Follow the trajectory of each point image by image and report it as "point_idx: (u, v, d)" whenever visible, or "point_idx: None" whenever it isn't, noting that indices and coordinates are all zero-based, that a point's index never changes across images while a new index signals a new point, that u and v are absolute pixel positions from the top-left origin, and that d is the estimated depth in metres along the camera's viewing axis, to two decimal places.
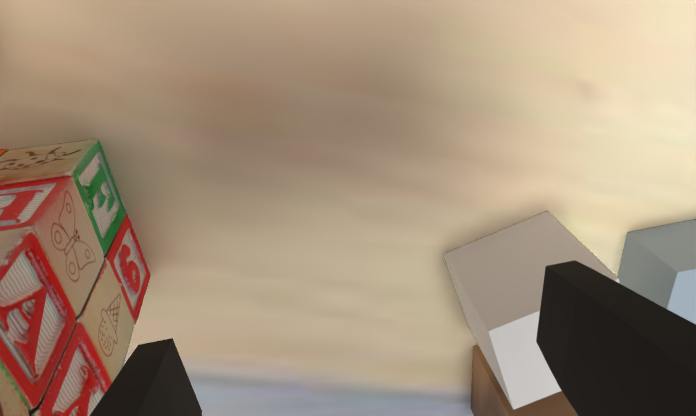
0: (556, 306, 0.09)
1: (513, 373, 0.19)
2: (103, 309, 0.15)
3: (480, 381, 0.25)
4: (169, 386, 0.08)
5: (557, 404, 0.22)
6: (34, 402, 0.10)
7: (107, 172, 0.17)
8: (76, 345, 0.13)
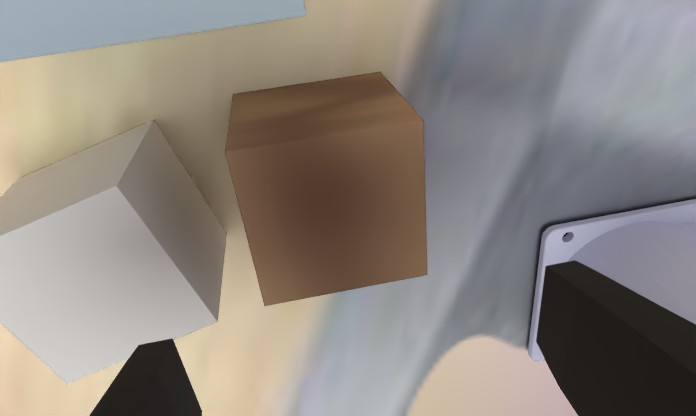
0: (556, 306, 0.09)
1: (141, 340, 0.14)
2: None
3: None
4: (169, 386, 0.08)
5: None
6: None
7: None
8: None
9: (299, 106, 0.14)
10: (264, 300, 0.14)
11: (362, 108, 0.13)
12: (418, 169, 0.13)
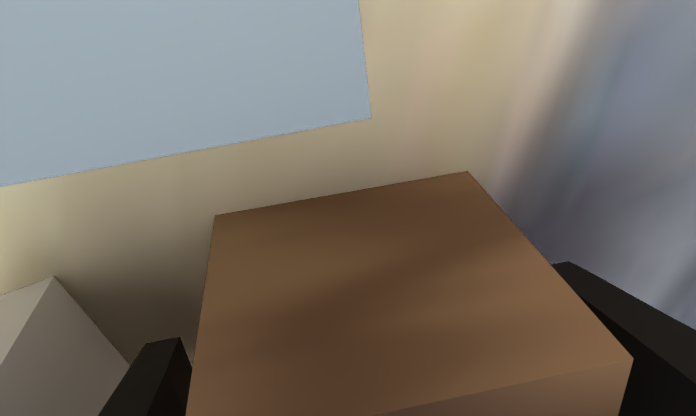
0: None
1: None
2: None
3: None
4: (177, 384, 0.08)
5: None
6: None
7: None
8: None
9: (338, 267, 0.07)
10: None
11: (470, 290, 0.07)
12: None
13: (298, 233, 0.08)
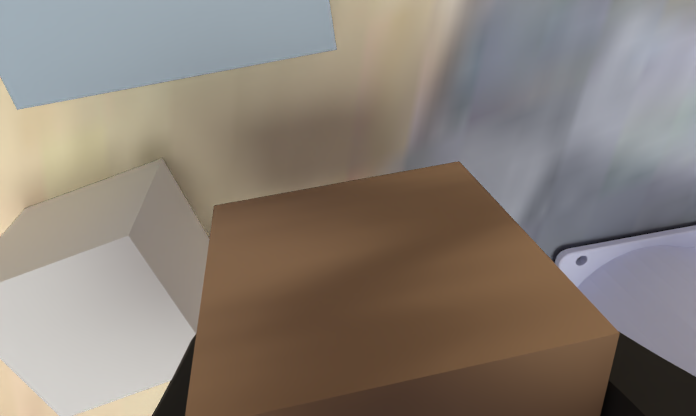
0: None
1: (140, 379, 0.14)
2: None
3: None
4: None
5: None
6: None
7: None
8: None
9: (334, 253, 0.08)
10: None
11: (464, 273, 0.07)
12: (589, 412, 0.06)
13: (295, 223, 0.08)
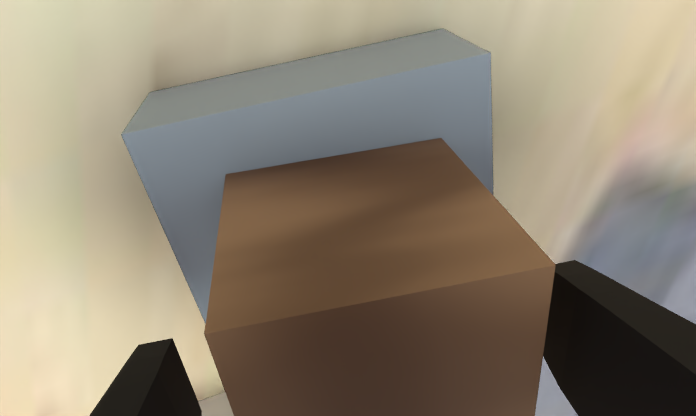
0: (556, 306, 0.09)
1: None
2: None
3: None
4: (169, 386, 0.08)
5: None
6: None
7: None
8: None
9: (328, 211, 0.09)
10: None
11: (435, 223, 0.08)
12: (535, 336, 0.08)
13: (296, 187, 0.10)
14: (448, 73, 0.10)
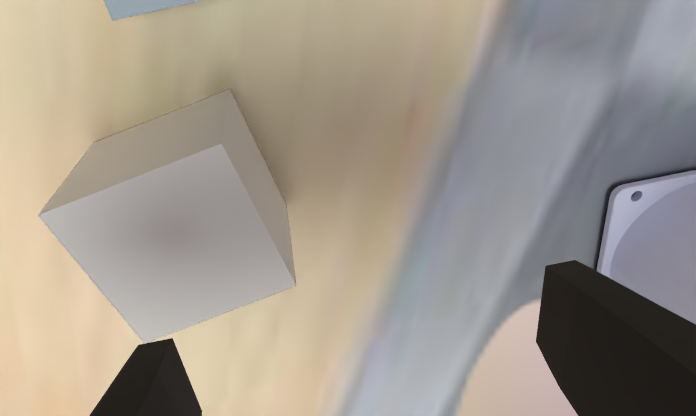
0: (556, 306, 0.09)
1: (222, 301, 0.14)
2: None
3: None
4: (169, 386, 0.08)
5: None
6: None
7: None
8: None
9: None
10: None
11: None
12: None
13: None
14: None
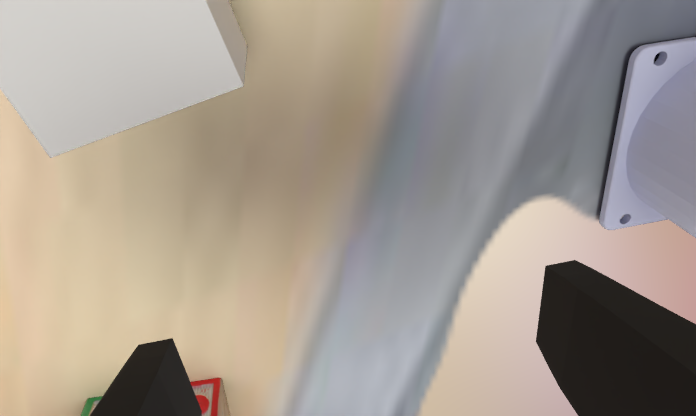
0: (556, 306, 0.09)
1: (148, 101, 0.11)
2: None
3: None
4: (169, 386, 0.08)
5: None
6: None
7: None
8: None
9: None
10: None
11: None
12: None
13: None
14: None
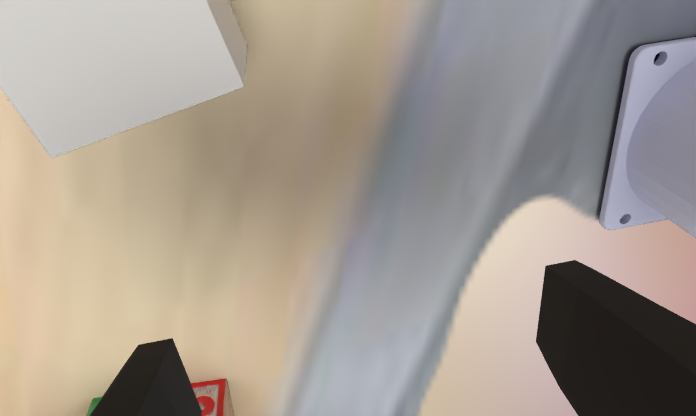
0: (556, 306, 0.09)
1: (148, 102, 0.11)
2: None
3: None
4: (169, 386, 0.08)
5: None
6: None
7: None
8: None
9: None
10: None
11: None
12: None
13: None
14: None
